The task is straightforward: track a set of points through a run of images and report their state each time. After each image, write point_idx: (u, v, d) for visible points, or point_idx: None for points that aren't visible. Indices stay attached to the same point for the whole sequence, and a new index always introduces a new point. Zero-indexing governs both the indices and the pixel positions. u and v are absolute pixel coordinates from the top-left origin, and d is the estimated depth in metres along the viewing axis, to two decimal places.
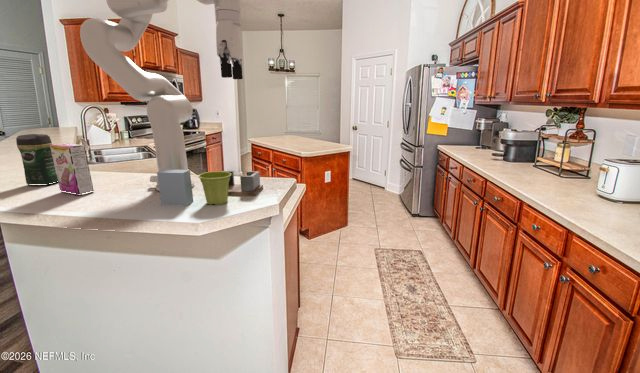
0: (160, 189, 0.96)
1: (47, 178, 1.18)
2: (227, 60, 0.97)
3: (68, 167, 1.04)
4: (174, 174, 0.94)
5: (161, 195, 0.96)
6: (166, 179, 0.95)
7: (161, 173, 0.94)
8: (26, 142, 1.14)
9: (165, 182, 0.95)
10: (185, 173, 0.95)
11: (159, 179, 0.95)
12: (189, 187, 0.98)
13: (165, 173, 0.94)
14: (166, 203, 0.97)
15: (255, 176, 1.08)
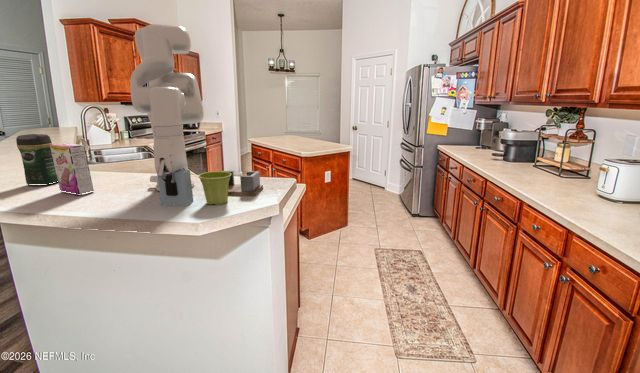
0: (160, 189, 0.96)
1: (47, 178, 1.18)
2: (171, 182, 0.93)
3: (68, 167, 1.04)
4: None
5: (161, 195, 0.96)
6: None
7: None
8: (26, 142, 1.14)
9: None
10: (185, 173, 0.95)
11: (159, 179, 0.95)
12: (189, 187, 0.97)
13: None
14: (166, 203, 0.97)
15: (255, 176, 1.08)
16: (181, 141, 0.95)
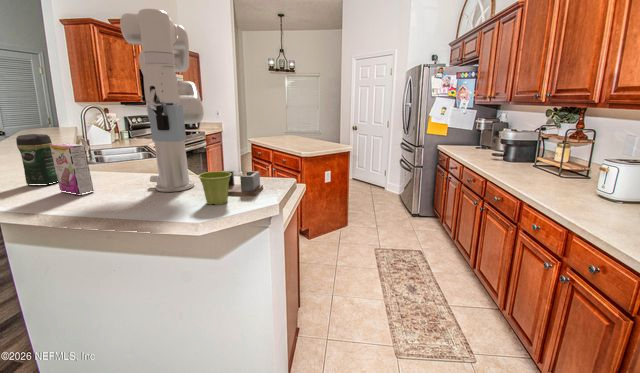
0: (151, 124, 0.91)
1: (47, 178, 1.18)
2: (162, 114, 0.88)
3: (68, 167, 1.04)
4: None
5: (152, 130, 0.92)
6: None
7: None
8: (26, 142, 1.14)
9: None
10: (177, 106, 0.90)
11: (149, 113, 0.90)
12: (181, 123, 0.93)
13: None
14: (157, 139, 0.92)
15: (255, 176, 1.08)
16: (173, 73, 0.91)
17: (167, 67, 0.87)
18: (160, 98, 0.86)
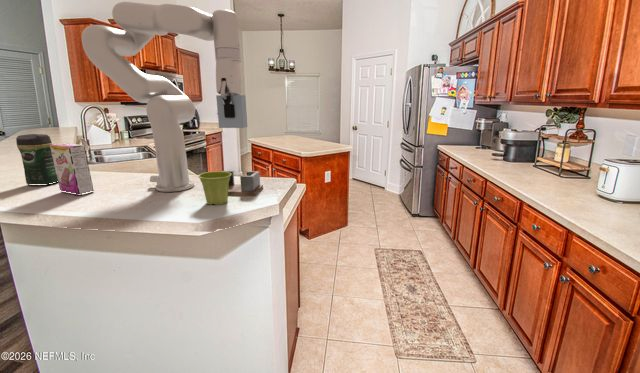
0: (218, 112, 1.02)
1: (47, 178, 1.18)
2: (230, 103, 0.99)
3: (68, 167, 1.04)
4: None
5: (219, 118, 1.03)
6: None
7: (220, 96, 1.01)
8: (26, 142, 1.14)
9: (223, 105, 1.01)
10: (242, 96, 1.01)
11: (218, 102, 1.01)
12: (245, 111, 1.04)
13: None
14: (223, 126, 1.03)
15: (255, 176, 1.08)
16: (238, 66, 1.02)
17: (235, 61, 0.99)
18: (230, 88, 0.97)
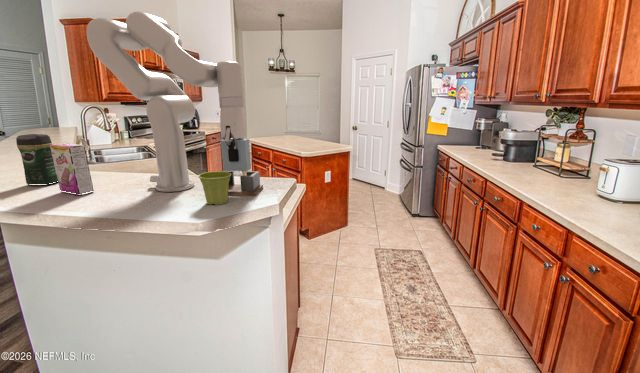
0: (223, 156, 1.06)
1: (47, 178, 1.18)
2: (234, 148, 1.03)
3: (68, 167, 1.04)
4: None
5: (224, 161, 1.06)
6: None
7: (224, 141, 1.04)
8: (26, 142, 1.14)
9: (227, 149, 1.05)
10: (246, 141, 1.05)
11: (222, 147, 1.05)
12: (248, 154, 1.08)
13: None
14: (228, 169, 1.07)
15: (255, 176, 1.08)
16: (241, 112, 1.06)
17: (238, 108, 1.02)
18: (234, 135, 1.01)
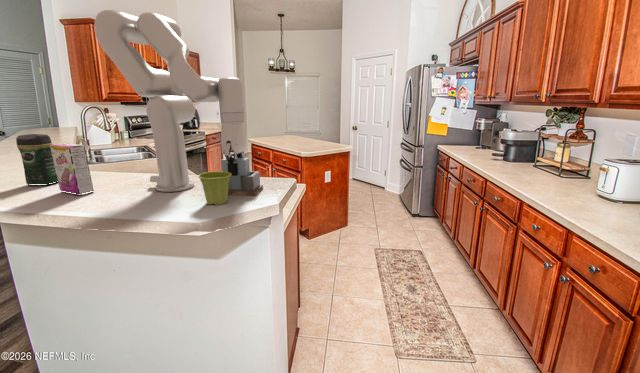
0: None
1: (47, 178, 1.18)
2: (234, 162, 1.03)
3: (68, 167, 1.04)
4: (237, 161, 1.06)
5: None
6: None
7: (225, 160, 1.06)
8: (26, 142, 1.14)
9: None
10: (246, 160, 1.07)
11: (223, 166, 1.07)
12: (248, 173, 1.09)
13: None
14: (228, 187, 1.09)
15: (255, 176, 1.08)
16: (242, 127, 1.07)
17: (239, 124, 1.04)
18: (234, 150, 1.02)
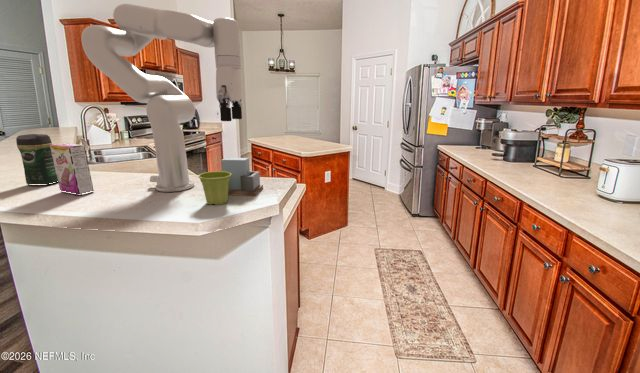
0: None
1: (47, 178, 1.18)
2: (226, 105, 0.97)
3: (68, 167, 1.04)
4: (237, 161, 1.06)
5: None
6: (229, 166, 1.07)
7: (225, 160, 1.06)
8: (26, 142, 1.14)
9: (228, 169, 1.07)
10: (246, 160, 1.07)
11: (223, 166, 1.07)
12: (248, 173, 1.09)
13: (229, 160, 1.06)
14: (228, 187, 1.09)
15: (255, 176, 1.08)
16: (238, 74, 1.02)
17: (235, 69, 0.99)
18: (230, 96, 0.98)
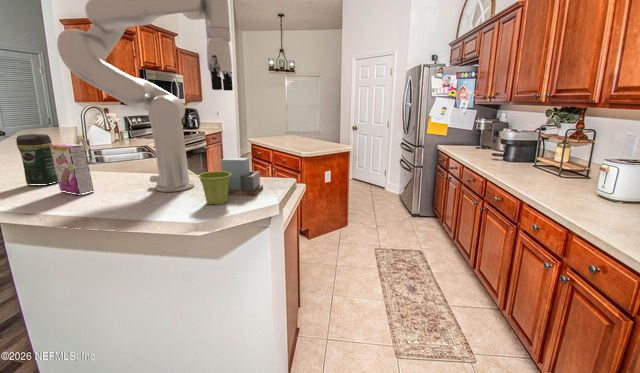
0: None
1: (47, 178, 1.18)
2: (217, 74, 1.04)
3: (68, 167, 1.04)
4: (237, 161, 1.06)
5: None
6: (229, 166, 1.07)
7: (225, 160, 1.06)
8: (26, 142, 1.14)
9: (228, 169, 1.07)
10: (246, 160, 1.07)
11: (223, 166, 1.07)
12: (248, 173, 1.09)
13: (229, 160, 1.06)
14: (228, 187, 1.09)
15: (255, 176, 1.08)
16: (228, 46, 1.09)
17: (225, 40, 1.06)
18: (220, 65, 1.04)
